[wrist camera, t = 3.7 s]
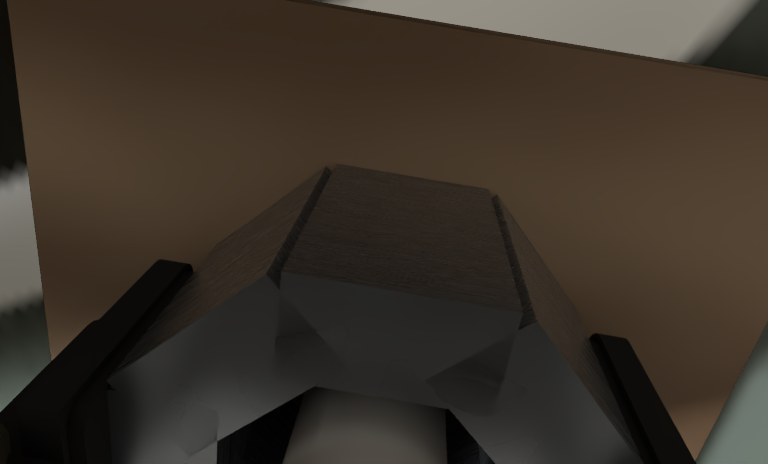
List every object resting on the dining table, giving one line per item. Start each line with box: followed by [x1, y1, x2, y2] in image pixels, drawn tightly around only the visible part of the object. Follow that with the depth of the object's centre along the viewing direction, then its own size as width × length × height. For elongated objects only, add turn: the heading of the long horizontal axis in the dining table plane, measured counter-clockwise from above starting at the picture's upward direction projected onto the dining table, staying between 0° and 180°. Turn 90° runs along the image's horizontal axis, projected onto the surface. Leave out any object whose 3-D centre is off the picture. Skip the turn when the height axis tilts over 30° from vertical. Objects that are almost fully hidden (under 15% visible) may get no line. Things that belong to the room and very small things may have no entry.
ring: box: [107, 164, 644, 464], centre depth 9 cm, size 7×7×4 cm
